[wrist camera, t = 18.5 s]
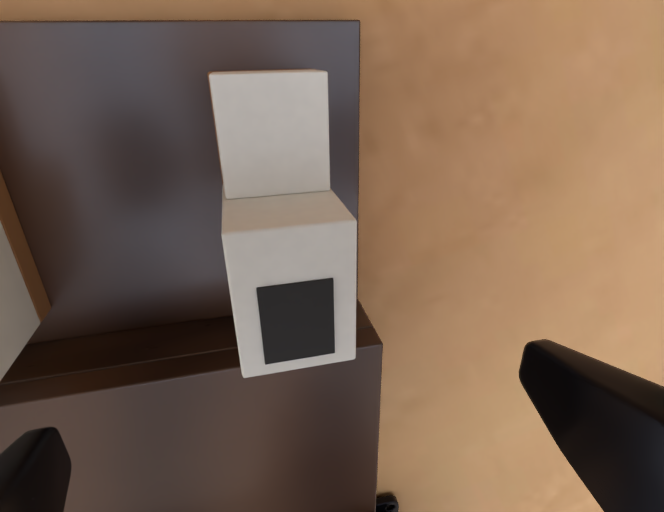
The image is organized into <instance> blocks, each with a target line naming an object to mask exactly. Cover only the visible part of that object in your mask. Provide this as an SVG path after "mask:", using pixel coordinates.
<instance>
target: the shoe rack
mask: <svg viewBox="0 0 664 512" xmlns="http://www.w3.org/2000/svg"><path fill="white" fill-rule="evenodd" d="M276 69H316V70H322V71H327V73H328V111H329V157H330V188H331V189H332V191H333V192H334V193H335V194H336V196H337V197H338V198H339V199H340V201H341V202H342V203H343V204H344V206H345V207H346V208H347V209H348V210H349V212H350V213H351V214H352V215H353V217H354V218H355V219H356V221H357V268H356V358H355V359H353V360H348V361H342V362H336V363H330V364H324V365H318V366H313V367H307V368H301V369H295V370H289V371H283V372H277V373H272V374H266V375H260V376H254V377H248V378H244V377H243V376H242V372H241V365H240V359H239V352H238V345H237V338H236V331H235V325H234V318H233V311H232V304H231V297H230V290H229V284H228V277H227V270H226V263H225V256H224V250H223V243H222V236H221V234H222V188H223V184H222V177H221V170H220V162H219V155H218V148H217V140H216V133H215V126H214V119H213V111H212V104H211V97H210V90H209V82H208V75H207V74H208V72H210V71H239V70H276ZM359 92H360V20H129V21H0V171H1V173H2V176H3V179H4V181H5V184H6V187H7V189H8V192H9V195H10V198H11V200H12V203H13V206H14V208H15V211H16V214H17V216H18V219H19V222H20V224H21V227H22V230H23V232H24V235H25V238H26V241H27V243H28V246H29V249H30V251H31V254H32V257H33V259H34V262H35V265H36V267H37V270H38V273H39V276H40V278H41V281H42V284H43V286H44V289H45V292H46V294H47V297H48V300H49V302H50V305H51V310H50V311H49V312H48V314H47V315H46V317H45V318H44V320H43V321H42V322H41V323H40V325H39V326H38V328H37V329H36V331H35V332H34V334H33V335H32V336H31V338H30V339H29V341H28V342H27V344H26V345H25V346H24V348H23V349H22V351H21V352H20V354H19V355H18V356H17V358H16V359H15V361H14V362H13V364H12V365H11V367H10V368H9V369H8V371H7V372H6V374H5V375H4V377H3V378H2V379H1V381H0V453H2V452H3V451H4V450H5V449H6V448H7V447H8V446H10V445H11V444H12V443H13V442H14V441H15V440H16V439H18V438H19V437H20V436H21V435H22V434H24V433H25V432H27V431H29V430H33V429H39V428H44V427H55V428H57V429H58V431H59V432H60V435H61V437H62V439H63V442H64V444H65V446H66V449H67V451H68V454H69V456H70V459H71V465H72V470H71V477H70V482H69V487H68V492H67V497H66V502H65V507H64V512H375V511H376V488H377V465H378V442H379V418H380V395H381V372H382V349H383V343H382V342H381V340H380V338H379V336H378V334H377V332H376V331H375V329H374V328H373V325H372V324H371V322H370V320H369V318H368V316H367V314H366V313H365V311H364V309H363V307H362V305H361V304H360V302H359V300H358V299H357V296H358V194H359Z"/></svg>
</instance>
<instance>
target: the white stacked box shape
mask: <svg viewBox="0 0 664 512" xmlns="http://www.w3.org/2000/svg"><path fill="white" fill-rule="evenodd" d="M50 310H51V305H50V302H49V300H48V297H47V294H46V292H45V289H44V286H43V284H42V281H41V278H40V276H39V273H38V270H37V267H36V265H35V262H34V259H33V257H32V254H31V251H30V249H29V246H28V243H27V241H26V238H25V235H24V232H23V230H22V227H21V224H20V222H19V219H18V216H17V214H16V211H15V208H14V206H13V203H12V200H11V198H10V195H9V192H8V189H7V187H6V184H5V181H4V179H3V176H2V173H1V171H0V381H1V379H2V378H3V377H4V375H5V374H6V372H7V371H8V369H9V368H10V367H11V365H12V364H13V362H14V361H15V359H16V358H17V356H18V355H19V354H20V352H21V351H22V349H23V348H24V346H25V345H26V344H27V342H28V341H29V339H30V338H31V336H32V335H33V334H34V332H35V331H36V329H37V328H38V326H39V325H40V323H41V322H42V321H43V320H44V318H45V317H46V315H47V314H48V312H49V311H50Z"/></svg>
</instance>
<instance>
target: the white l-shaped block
mask: <svg viewBox="0 0 664 512" xmlns="http://www.w3.org/2000/svg"><path fill="white" fill-rule="evenodd" d="M207 75H208V82H209V90H210V97H211V104H212V111H213V119H214V126H215V133H216V140H217V148H218V155H219V162H220V170H221V177H222V184H223V188H222V234H221V236H222V243H223V250H224V256H225V263H226V270H227V277H228V284H229V290H230V297H231V304H232V311H233V318H234V325H235V331H236V338H237V345H238V352H239V359H240V365H241V372H242V376H243V377H244V378H248V377H254V376H260V375H266V374H272V373H277V372H283V371H289V370H295V369H301V368H307V367H313V366H318V365H324V364H330V363H336V362H342V361H348V360H353V359H355V358H356V268H357V221H356V219H355V218H354V217H353V215H352V214H351V213H350V212H349V210H348V209H347V208H346V207H345V206H344V204H343V203H342V202H341V201H340V199H339V198H338V197H337V196H336V194H335V193H334V192H333V191H332V189H331V188H330V157H329V111H328V73H327V71H322V70H316V69H276V70H239V71H210V72H208V74H207Z"/></svg>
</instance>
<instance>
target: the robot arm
mask: <svg viewBox="0 0 664 512" xmlns="http://www.w3.org/2000/svg"><path fill="white" fill-rule="evenodd" d="M519 378H520V381H521V384H522V386H523V387H524V389H525V391H526V392H527V394H528V396H529V398H530V399H531V401H532V403H533V404H534V406H535V408H536V410H537V411H538V413H539V415H540V416H541V418H542V420H543V422H544V423H545V425H546V427H547V428H548V430H549V432H550V434H551V435H552V437H553V439H554V440H555V442H556V444H557V445H558V447H559V448H560V450H561V451H562V453H563V454H564V456H565V457H566V459H567V460H568V462H569V463H570V465H571V466H572V467H573V469H574V470H575V472H576V473H577V474H578V476H579V477H580V479H581V480H582V481H583V483H584V484H585V486H586V487H587V488H588V490H589V491H590V493H591V494H592V495H593V497H594V498H595V500H596V501H597V502H598V504H599V505H600V507H601V508H602V510H603V511H604V512H664V387H663V386H661V385H658V384H656V383H653V382H651V381H648V380H646V379H643V378H641V377H639V376H636V375H634V374H631V373H629V372H626V371H624V370H621V369H619V368H616V367H614V366H611V365H609V364H607V363H604V362H602V361H599V360H597V359H594V358H592V357H589V356H587V355H584V354H582V353H579V352H577V351H575V350H572V349H570V348H567V347H565V346H562V345H560V344H557V343H555V342H552V341H550V340H546V339H542V340H536V341H531V342H528V343H527V344H526V345H525V347H524V351H523V356H522V360H521V365H520V369H519ZM71 470H72V465H71V459H70V456H69V454H68V451H67V449H66V446H65V444H64V442H63V439H62V437H61V435H60V432H59V431H58V429H57V428H55V427H44V428H39V429H33V430H29V431H27V432H25V433H24V434H22V435H21V436H20V437H19V438H18V439H16V440H15V441H14V442H13V443H12V444H11V445H10V446H8V447H7V448H6V449H5V450H4V451H3V452H2V453H0V512H64V507H65V502H66V497H67V492H68V487H69V482H70V477H71ZM398 508H399V505H398V502H397V499H396V497H395V496H393V495H388V496H384V497H380V498H376V511H375V512H398Z"/></svg>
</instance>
